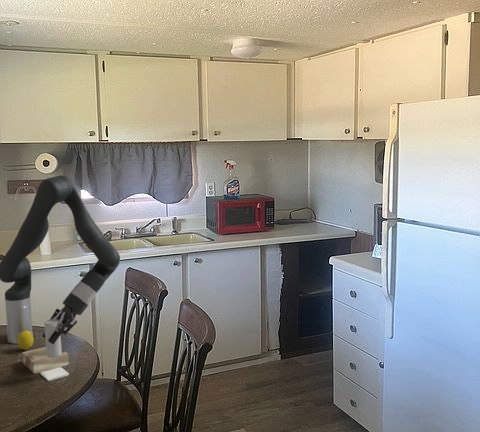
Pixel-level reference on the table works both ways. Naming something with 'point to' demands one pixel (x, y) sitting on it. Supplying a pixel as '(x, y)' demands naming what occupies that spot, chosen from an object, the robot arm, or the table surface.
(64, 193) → the robot arm
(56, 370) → the tile
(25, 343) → the lemon
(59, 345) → the beverage can
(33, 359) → the lane rack
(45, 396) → the table surface
